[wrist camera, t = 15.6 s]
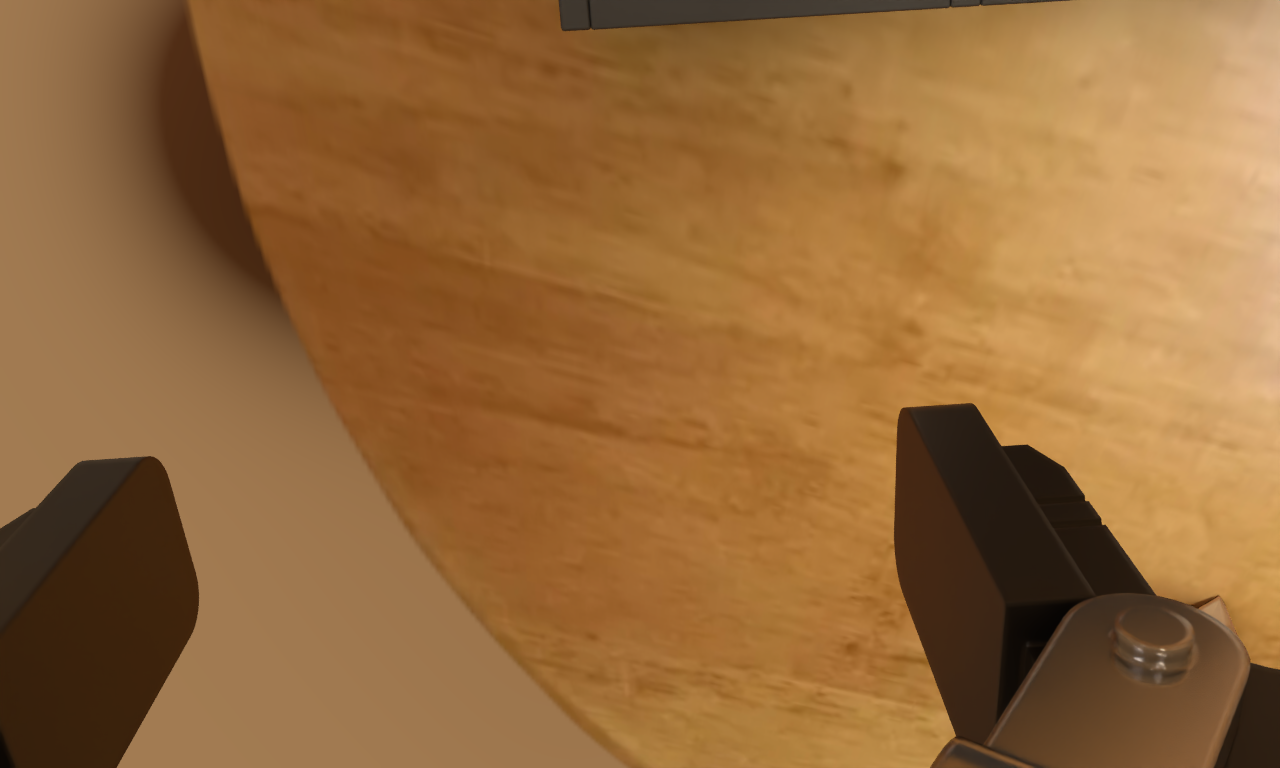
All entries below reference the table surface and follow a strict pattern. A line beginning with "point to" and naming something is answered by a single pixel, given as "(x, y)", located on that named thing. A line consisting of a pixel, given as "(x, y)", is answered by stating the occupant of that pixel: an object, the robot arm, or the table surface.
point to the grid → (732, 10)
